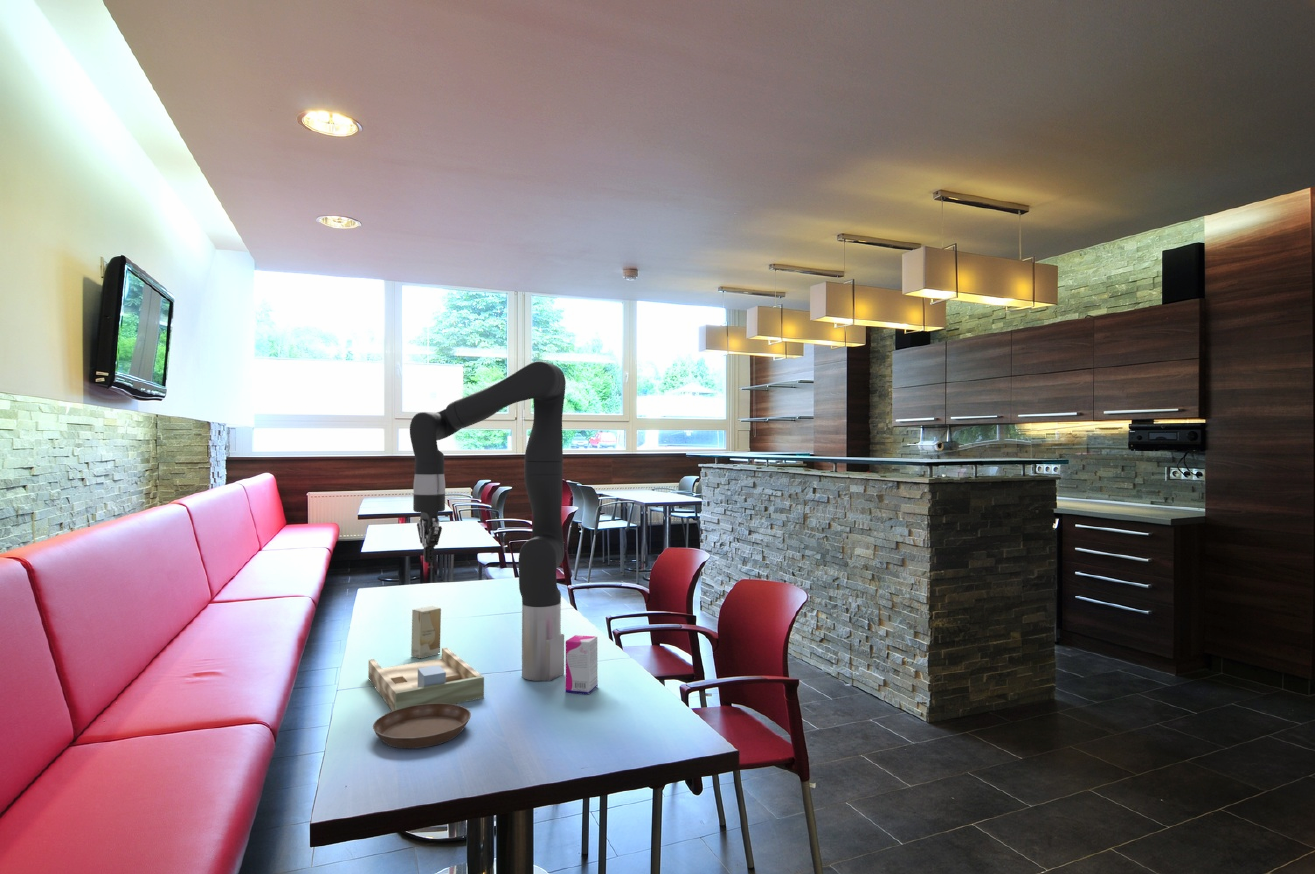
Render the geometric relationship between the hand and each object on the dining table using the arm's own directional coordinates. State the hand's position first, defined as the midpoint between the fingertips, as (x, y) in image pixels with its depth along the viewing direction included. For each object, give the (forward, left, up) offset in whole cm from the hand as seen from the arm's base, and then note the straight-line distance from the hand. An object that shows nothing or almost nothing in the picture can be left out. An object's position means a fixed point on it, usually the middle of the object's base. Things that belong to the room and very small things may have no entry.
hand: (428, 562), depth 173 cm
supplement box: (-42, -4, -26) cm, 50 cm away
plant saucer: (-28, +30, -27) cm, 49 cm away
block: (-17, +16, -24) cm, 34 cm away
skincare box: (+9, -8, -26) cm, 29 cm away
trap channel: (-9, +11, -26) cm, 30 cm away
